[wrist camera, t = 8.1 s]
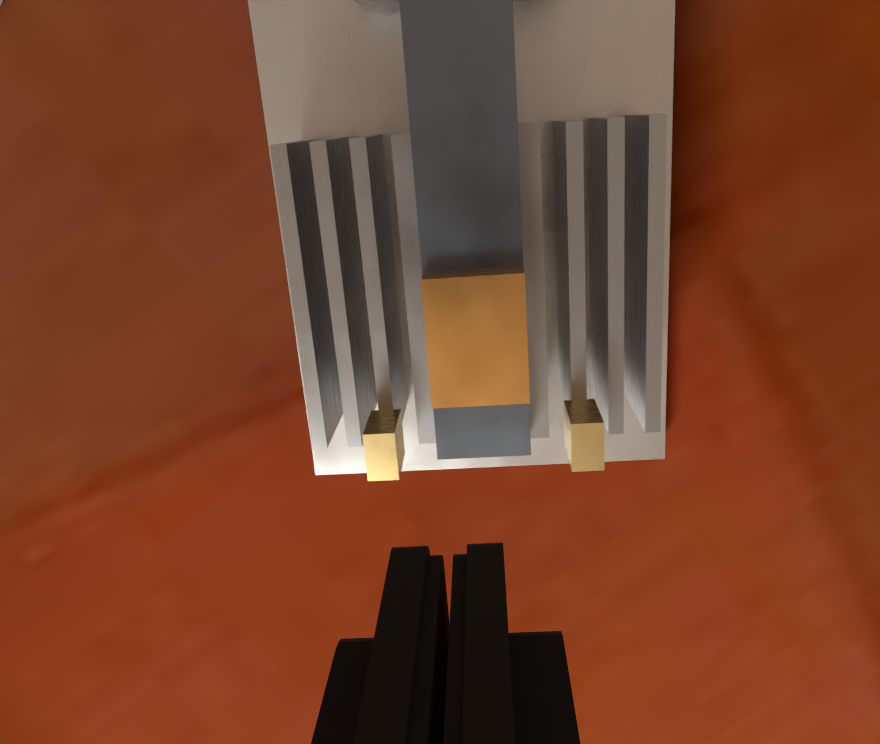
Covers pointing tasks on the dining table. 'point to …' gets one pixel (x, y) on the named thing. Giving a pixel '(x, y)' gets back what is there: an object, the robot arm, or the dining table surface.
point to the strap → (469, 222)
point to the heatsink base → (543, 227)
